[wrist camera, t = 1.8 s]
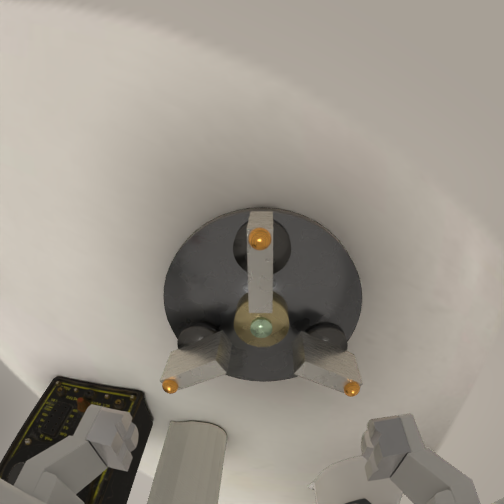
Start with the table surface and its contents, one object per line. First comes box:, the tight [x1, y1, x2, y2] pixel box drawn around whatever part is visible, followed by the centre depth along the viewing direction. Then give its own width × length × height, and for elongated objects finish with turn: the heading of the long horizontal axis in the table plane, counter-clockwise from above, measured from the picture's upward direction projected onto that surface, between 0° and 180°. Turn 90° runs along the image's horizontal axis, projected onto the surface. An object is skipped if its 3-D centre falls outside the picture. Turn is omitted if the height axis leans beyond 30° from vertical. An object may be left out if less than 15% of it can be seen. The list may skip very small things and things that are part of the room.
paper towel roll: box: [147, 421, 227, 504], centre depth 28 cm, size 7×6×21 cm
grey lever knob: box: [233, 211, 291, 313], centre depth 22 cm, size 6×4×6 cm
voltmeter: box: [0, 377, 153, 504], centre depth 26 cm, size 16×9×25 cm, turn 93°
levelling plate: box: [164, 207, 362, 381], centre depth 27 cm, size 18×18×4 cm
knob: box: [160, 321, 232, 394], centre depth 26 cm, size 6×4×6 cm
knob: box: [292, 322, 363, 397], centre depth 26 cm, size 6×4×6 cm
